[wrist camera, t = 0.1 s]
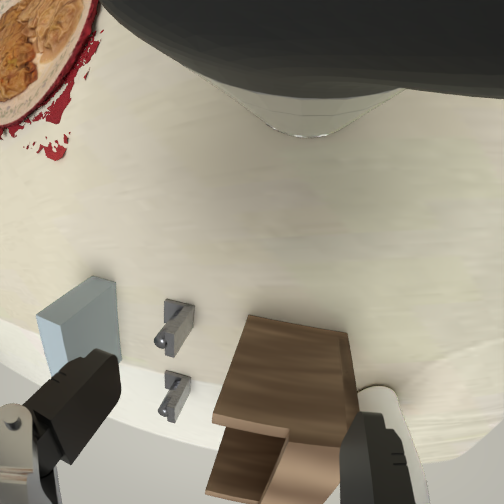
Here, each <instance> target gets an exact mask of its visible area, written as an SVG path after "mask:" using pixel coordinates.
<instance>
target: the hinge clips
mask: <svg viewBox="0 0 504 504" xmlns="http://www.w3.org/2000/svg"><path fill="white" fill-rule="evenodd" d="M193 321H194V306H193V305H189V304H185V303H181V302H177V301H173V300H169V299H166V300H165V301H164V323H166V324H165V325H164V327H163V328H162V329H161V331H160V332H159V333H158V334H157V336H156V337H155V338H154V343H155V345H156V346H157V347H159V348H161V349H164V348H165V355H166V356H170V357H173V358H174V357H175V355H176V354H177V352H178V351H179V349H180V347H181V346H182V344H183V343H184V341H185V339H186V338H187V336H188V335H189V333H190V332H191V330H192V328H193ZM190 380H191V377H188V376H184V375H181V374H177V373H174V372H170V371H167V370H166V372H165V388H166V389H169V391H168V393H167V395H166V397H165V398H164V400H163V402H162V404H161V405H160V407H159V409H158V413H159V414H160V415H162V416H164V417H167V420H168V421H169V422H172V423H175V422H176V420H177V418H178V416H179V414H180V412H181V410H182V408H183V406H184V404H185V402H186V400H187V398H188V396H189V394H190Z"/></svg>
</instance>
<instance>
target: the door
mask: <svg viewBox="0 0 504 504" xmlns="http://www.w3.org/2000/svg"><path fill="white" fill-rule="evenodd" d="M36 319H37V323H38V328H39V332H40V336H41V340H42V344H43V348H44V352H45V356H46V359H47V363H48V366H49V369H50V373H51V376H53V375H55V374H56V373H58V372H59V370H60V369H61V368H62V367H63V366H64V365H65V364H66V363H67V362H69V361H72V360H74V359H76V358H78V357H83V358H85V357H86V356H87V355H88V354H89V353H90V352H91V351H92V350H93V349H95V348H98V349H101V350H103V351H106V352H109V353H111V354H114V355H116V356H117V358H118V364H119V363H120V361H121V360H122V356H121V348H120V338H119V327H118V314H117V299H116V282H113V281H109V280H105V279H102V278H99V277H95V276H91V277H90V278H88V279H87V280H85V281H84V282H82V283H81V284H79V285H78V286H76V287H75V288H73V289H72V290H70V291H69V292H68V293H66V294H65V295H63V296H62V297H60V298H59V299H57V300H56V301H55V302H53V303H52V304H50V305H49V306H47V307H46V308H45V309H43V310H42V311H40V312H39V313H38V314H36Z"/></svg>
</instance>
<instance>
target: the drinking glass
mask: <svg viewBox="0 0 504 504" xmlns="http://www.w3.org/2000/svg"><path fill="white" fill-rule="evenodd" d="M357 395H358V402H359V409H360V411H363V412H376V413H382V415H383V417H384V421H385V426H386V429H394V430H395V432H396V433H397V435H398V436H399V437H400V439H401V440H402V444H403V448H404V452H405V453H404V455H405V456H406V460H407V466H408V469H409V474H410V479H411V483H412V488H413V493H414V498H415V503H416V504H430V498H429V491H428V486H427V481H426V477H425V473H424V470H423V466H422V463H421V461H420V458H419V455H418V452H417V450H416V447H415V444H414V442H413V439H412V436H411V434H410V431H409V428H408V426H407V423H406V421H405V418H404V415H403V413H402V410H401V408H400V404H399V400H398V397H397V395H396V393H395V392H394V391H393V390H392V389H390V388H388V387H385V386H373V387H369V388H366V389H364V390H362V391H360V392H359V393H357Z"/></svg>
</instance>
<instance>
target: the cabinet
mask: <svg viewBox="0 0 504 504" xmlns="http://www.w3.org/2000/svg"><path fill="white" fill-rule="evenodd" d="M359 411H360V409H359V402H358V395H357V388H356V381H355V375H354V369H353V363H352V357H351V351H350V345H349V340H348V334H347V333H343V332H337V331H331V330H325V329H320V328H314V327H308V326H303V325H297V324H292V323H287V322H281V321H276V320H271V319H266V318H261V317H256V316H251V315H248V318H247V321H246V323H245V326H244V329H243V332H242V335H241V337H240V340H239V343H238V346H237V348H236V351H235V354H234V357H233V359H232V362H231V365H230V368H229V370H228V373H227V376H226V379H225V381H224V384H223V387H222V390H221V392H220V395H219V398H218V400H217V403H216V406H215V408H214V411H213V416H212V423H214V424H218V425H222V426H226V428H225V431H224V435H223V438H222V441H221V444H220V447H219V450H218V454H217V457H216V459H215V463H214V466H213V469H212V472H211V475H210V478H209V481H208V484H207V487H206V490H205V494H206V495H210V496H214V497H218V498H223V499H227V500H231V501H236V502H241V503H246V504H323V503H324V502H325V501H326V500H327V498H328V497H329V496H330V495H331V494H332V492H333V491H334V490H335V489H336V487H337V486H338V485H339V483H340V466H339V452H340V447H341V443H342V441H343V439H344V437H345V435H346V433H347V431H348V429H349V428H350V426H351V424H352V422H353V420H354V418H355V416H356V414H357V413H358V412H359Z"/></svg>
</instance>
